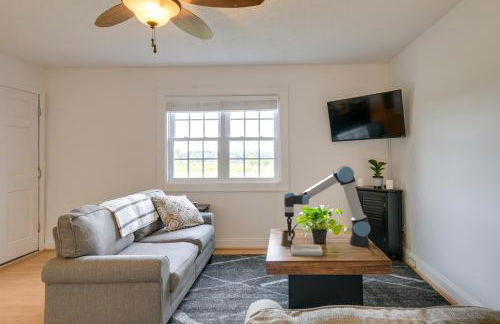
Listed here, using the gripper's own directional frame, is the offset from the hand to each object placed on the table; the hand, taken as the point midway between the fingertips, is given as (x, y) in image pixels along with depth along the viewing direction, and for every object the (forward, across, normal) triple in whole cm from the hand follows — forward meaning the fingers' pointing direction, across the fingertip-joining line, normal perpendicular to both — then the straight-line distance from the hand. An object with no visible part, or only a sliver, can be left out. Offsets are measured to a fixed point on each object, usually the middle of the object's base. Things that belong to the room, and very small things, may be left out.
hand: (289, 238), depth 250 cm
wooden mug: (+6, 0, 0) cm, 6 cm away
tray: (+6, +18, +12) cm, 22 cm away
